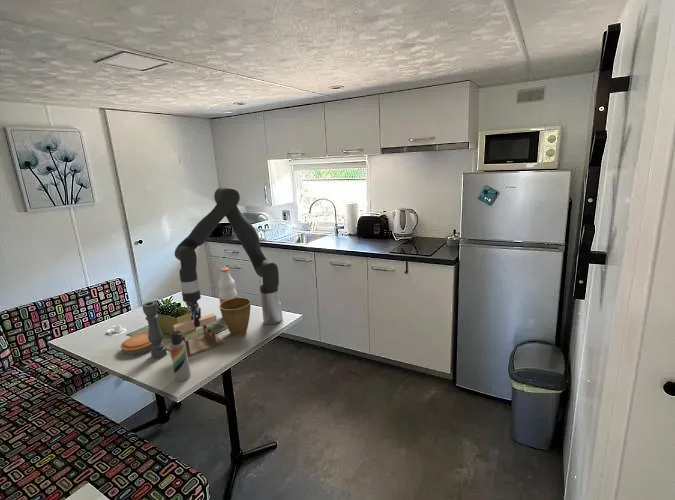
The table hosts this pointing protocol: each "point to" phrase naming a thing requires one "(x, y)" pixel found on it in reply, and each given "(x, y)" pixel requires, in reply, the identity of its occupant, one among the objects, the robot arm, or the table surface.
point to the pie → (137, 344)
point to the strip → (190, 324)
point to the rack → (202, 342)
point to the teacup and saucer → (116, 330)
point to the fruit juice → (226, 286)
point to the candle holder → (154, 330)
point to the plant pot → (236, 315)
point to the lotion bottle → (179, 356)
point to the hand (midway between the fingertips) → (196, 325)
